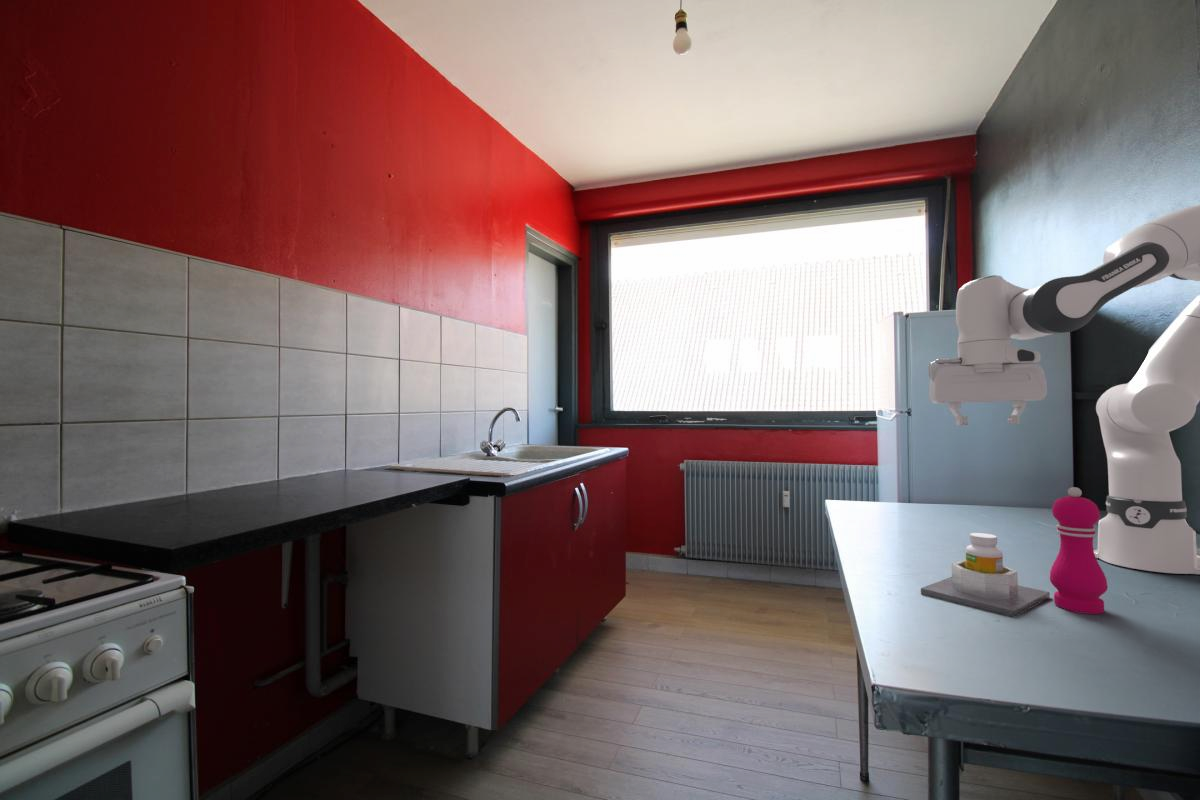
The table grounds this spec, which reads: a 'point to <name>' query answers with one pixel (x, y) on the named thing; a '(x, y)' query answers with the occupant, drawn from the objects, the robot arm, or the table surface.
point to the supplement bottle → (984, 554)
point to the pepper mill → (1077, 556)
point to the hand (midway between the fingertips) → (987, 424)
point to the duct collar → (986, 590)
